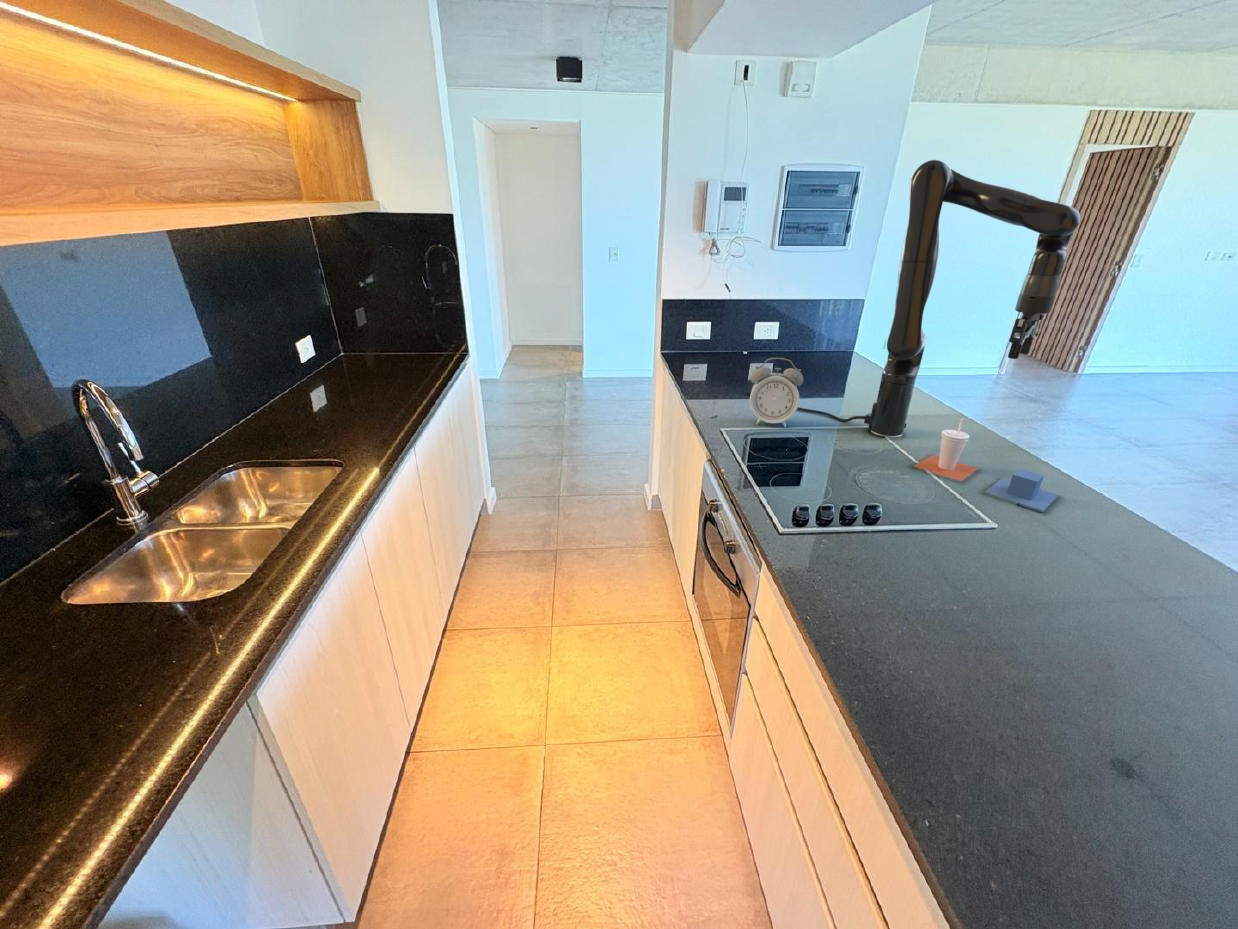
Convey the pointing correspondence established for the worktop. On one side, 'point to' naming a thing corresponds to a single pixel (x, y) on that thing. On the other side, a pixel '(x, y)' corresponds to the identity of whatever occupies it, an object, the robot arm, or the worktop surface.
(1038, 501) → the blue mat
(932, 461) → the terracotta mat
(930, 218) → the robot arm
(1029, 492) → the blue block
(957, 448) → the smoothie
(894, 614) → the worktop surface
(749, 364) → the worktop surface
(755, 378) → the alarm clock
